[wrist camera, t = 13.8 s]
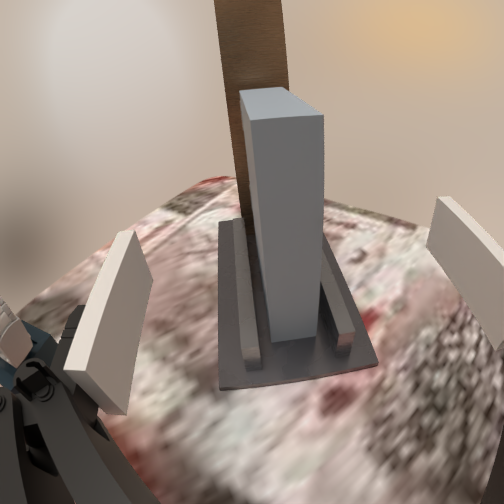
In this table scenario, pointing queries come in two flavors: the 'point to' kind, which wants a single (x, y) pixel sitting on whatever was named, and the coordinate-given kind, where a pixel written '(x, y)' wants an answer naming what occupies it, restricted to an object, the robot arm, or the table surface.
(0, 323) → the watch
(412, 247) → the table surface
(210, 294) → the table surface
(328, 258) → the base
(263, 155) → the door panel
